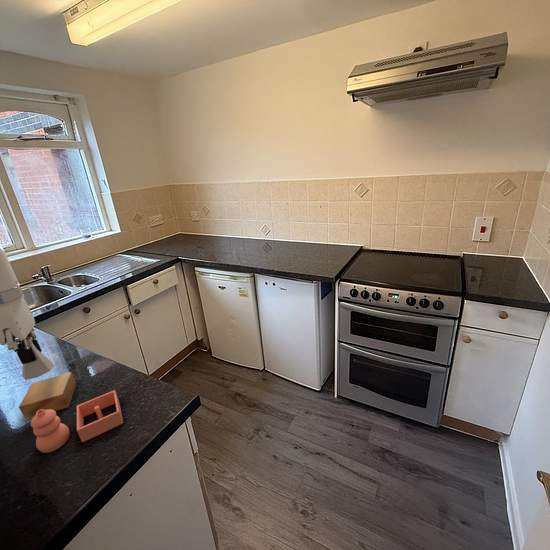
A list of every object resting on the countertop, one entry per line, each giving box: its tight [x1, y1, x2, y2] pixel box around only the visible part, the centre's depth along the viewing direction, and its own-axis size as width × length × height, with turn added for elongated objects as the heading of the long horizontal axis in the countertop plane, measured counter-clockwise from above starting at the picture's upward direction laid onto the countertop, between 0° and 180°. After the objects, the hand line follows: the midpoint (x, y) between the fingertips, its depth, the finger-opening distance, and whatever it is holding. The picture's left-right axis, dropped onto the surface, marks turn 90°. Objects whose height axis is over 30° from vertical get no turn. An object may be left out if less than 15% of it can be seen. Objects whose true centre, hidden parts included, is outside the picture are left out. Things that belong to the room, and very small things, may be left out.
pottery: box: [30, 389, 124, 454], centre depth 73 cm, size 18×10×10 cm, turn 123°
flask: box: [17, 337, 55, 381], centre depth 80 cm, size 7×7×10 cm
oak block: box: [18, 371, 77, 421], centre depth 84 cm, size 10×10×5 cm
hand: (32, 357), depth 80 cm, fingers closed on flask, 3 cm apart
